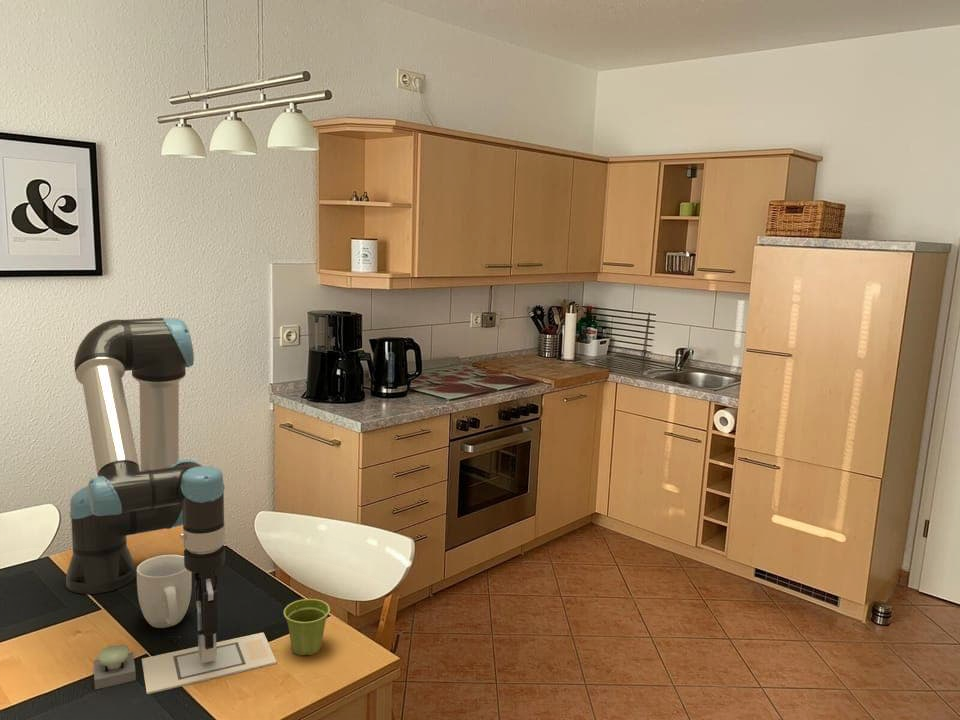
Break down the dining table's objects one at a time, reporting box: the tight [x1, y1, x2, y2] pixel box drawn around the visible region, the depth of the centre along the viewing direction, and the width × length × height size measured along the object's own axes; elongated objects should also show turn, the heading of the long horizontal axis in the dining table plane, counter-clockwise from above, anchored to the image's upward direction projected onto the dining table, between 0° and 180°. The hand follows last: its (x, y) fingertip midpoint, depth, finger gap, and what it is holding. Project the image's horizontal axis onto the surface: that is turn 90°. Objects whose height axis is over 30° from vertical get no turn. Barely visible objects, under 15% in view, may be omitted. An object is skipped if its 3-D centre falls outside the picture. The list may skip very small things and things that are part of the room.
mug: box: [136, 554, 193, 629], centre depth 162 cm, size 15×11×13 cm
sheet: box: [141, 631, 278, 695], centre depth 150 cm, size 12×24×1 cm, turn 118°
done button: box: [98, 644, 130, 671], centre depth 144 cm, size 5×5×4 cm
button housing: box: [93, 651, 137, 691], centre depth 144 cm, size 7×7×2 cm
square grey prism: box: [196, 601, 217, 659], centre depth 149 cm, size 3×3×12 cm
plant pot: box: [283, 598, 331, 656], centre depth 155 cm, size 9×9×9 cm
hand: (207, 655), depth 150 cm, fingers closed on square grey prism, 3 cm apart
